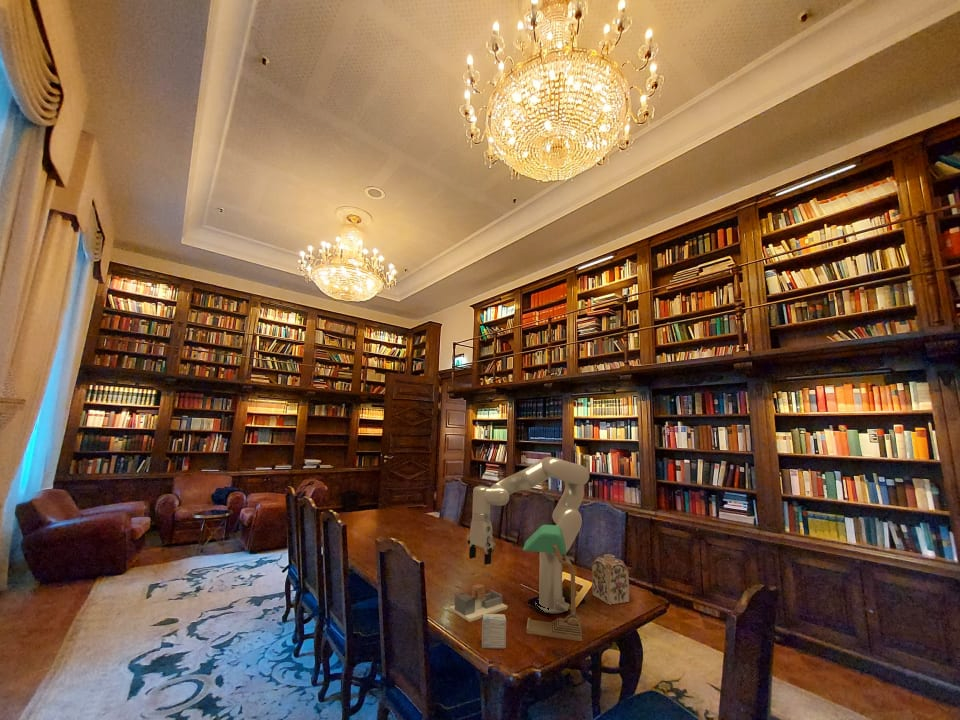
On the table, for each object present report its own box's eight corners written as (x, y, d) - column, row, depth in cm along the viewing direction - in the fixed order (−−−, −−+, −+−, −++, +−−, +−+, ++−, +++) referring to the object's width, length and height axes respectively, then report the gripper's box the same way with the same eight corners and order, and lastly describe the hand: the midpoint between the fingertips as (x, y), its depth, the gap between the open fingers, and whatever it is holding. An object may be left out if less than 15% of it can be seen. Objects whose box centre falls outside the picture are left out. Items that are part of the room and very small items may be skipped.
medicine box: (504, 642, 128) (505, 613, 130) (505, 649, 123) (506, 619, 125) (481, 641, 128) (482, 613, 129) (481, 648, 123) (482, 619, 125)
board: (507, 608, 154) (507, 597, 155) (469, 621, 141) (470, 609, 142) (486, 598, 163) (486, 587, 164) (449, 609, 151) (449, 597, 152)
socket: (474, 612, 147) (475, 598, 148) (465, 615, 144) (465, 601, 145) (463, 606, 152) (464, 592, 153) (454, 609, 149) (455, 595, 150)
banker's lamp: (583, 646, 127) (581, 535, 134) (521, 637, 131) (522, 530, 139) (580, 625, 142) (578, 526, 149) (525, 618, 146) (526, 522, 154)
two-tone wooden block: (485, 606, 153) (486, 586, 154) (464, 613, 146) (465, 592, 147) (479, 603, 155) (480, 583, 157) (458, 609, 148) (459, 589, 150)
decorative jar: (609, 605, 161) (607, 560, 165) (591, 595, 171) (590, 552, 175) (630, 602, 165) (628, 558, 169) (612, 592, 176) (611, 550, 180)
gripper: (501, 519, 155) (500, 564, 152) (474, 512, 168) (473, 554, 165) (488, 521, 151) (486, 568, 147) (461, 514, 164) (460, 557, 160)
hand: (479, 560), depth 156 cm, fingers open, 9 cm apart
